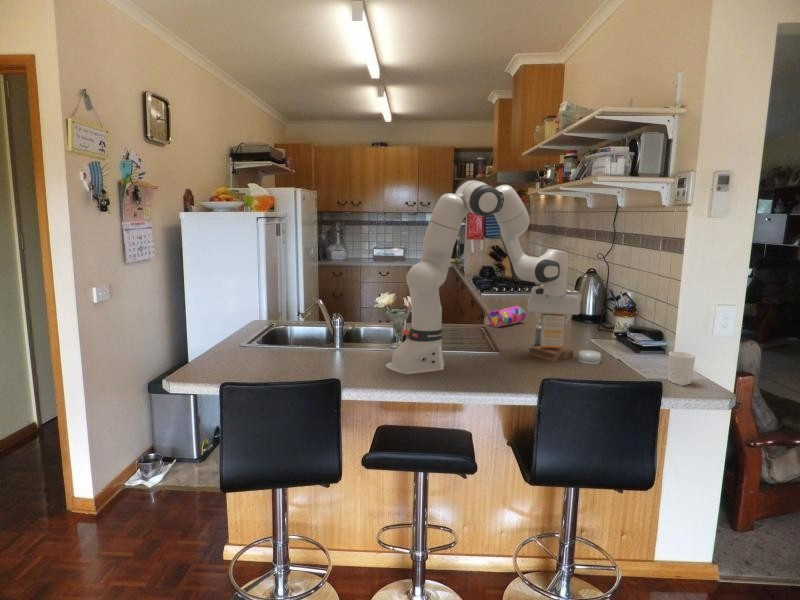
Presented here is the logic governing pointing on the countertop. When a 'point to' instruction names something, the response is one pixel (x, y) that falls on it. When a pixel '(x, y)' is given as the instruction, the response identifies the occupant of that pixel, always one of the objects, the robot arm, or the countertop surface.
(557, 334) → the supplement box
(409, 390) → the countertop surface
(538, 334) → the spice tin
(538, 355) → the podium
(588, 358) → the ramekin
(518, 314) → the pencil case
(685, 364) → the white cup
